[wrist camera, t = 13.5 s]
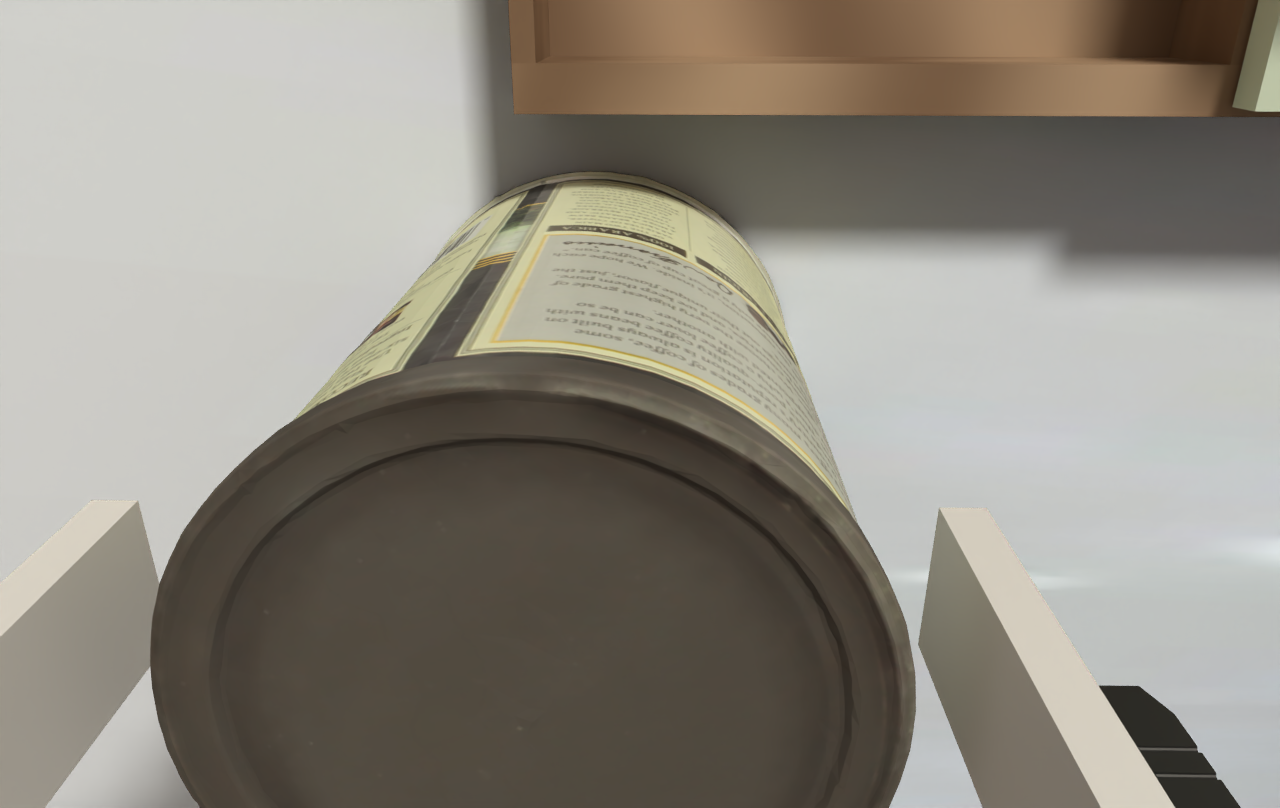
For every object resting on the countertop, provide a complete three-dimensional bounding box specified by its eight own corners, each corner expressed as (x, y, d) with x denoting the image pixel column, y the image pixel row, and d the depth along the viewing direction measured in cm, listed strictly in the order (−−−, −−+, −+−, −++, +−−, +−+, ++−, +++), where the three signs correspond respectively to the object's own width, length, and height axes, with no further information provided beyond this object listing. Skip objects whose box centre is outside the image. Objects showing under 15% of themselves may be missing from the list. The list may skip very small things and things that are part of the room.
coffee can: (719, 560, 28) (760, 1046, 15) (382, 466, 27) (116, 897, 14) (850, 237, 24) (1063, 519, 11) (459, 112, 23) (185, 260, 10)
